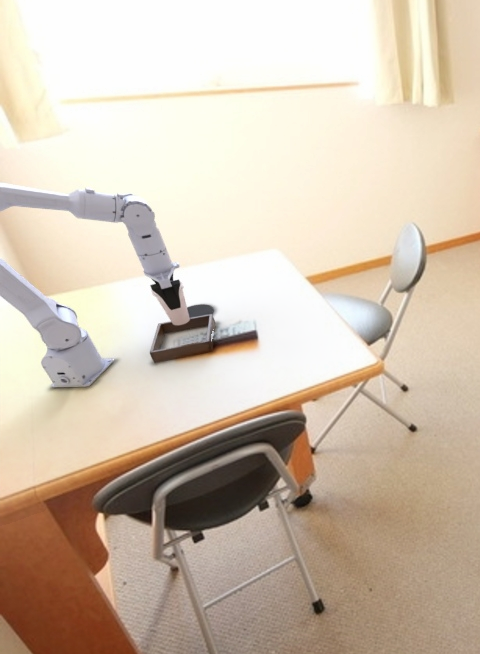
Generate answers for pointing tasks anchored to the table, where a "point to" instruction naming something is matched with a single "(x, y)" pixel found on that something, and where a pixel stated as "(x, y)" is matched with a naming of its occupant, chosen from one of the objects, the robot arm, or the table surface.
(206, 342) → the box
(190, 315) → the coaster
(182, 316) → the smoothie
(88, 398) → the table surface
